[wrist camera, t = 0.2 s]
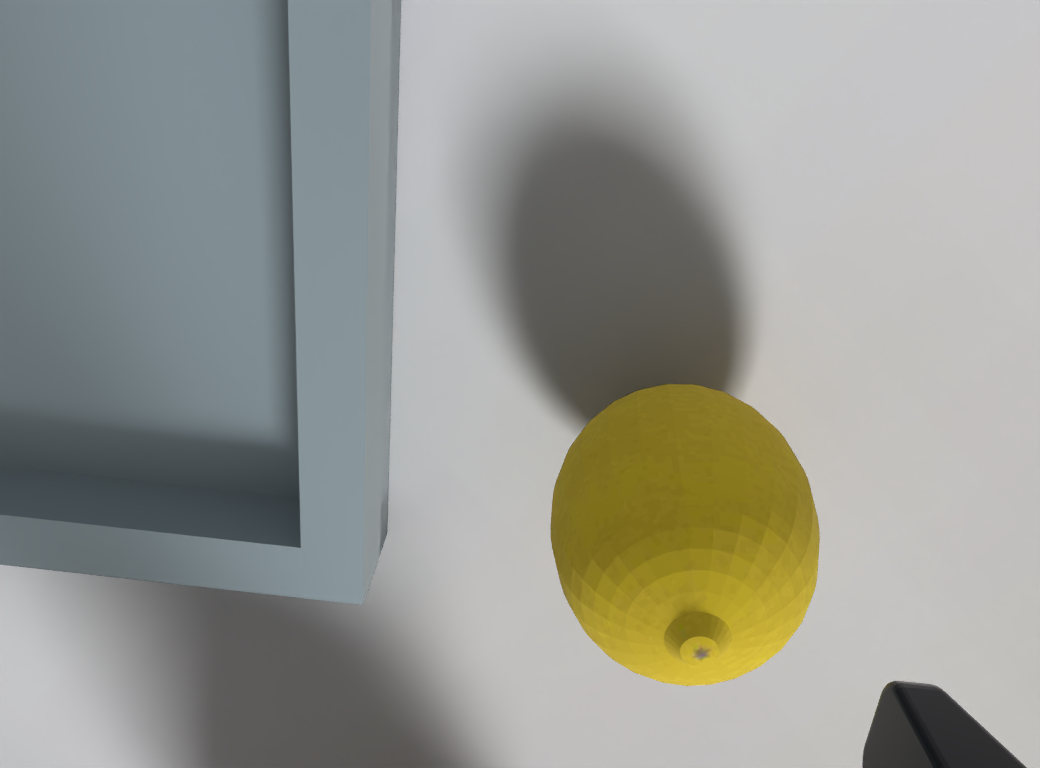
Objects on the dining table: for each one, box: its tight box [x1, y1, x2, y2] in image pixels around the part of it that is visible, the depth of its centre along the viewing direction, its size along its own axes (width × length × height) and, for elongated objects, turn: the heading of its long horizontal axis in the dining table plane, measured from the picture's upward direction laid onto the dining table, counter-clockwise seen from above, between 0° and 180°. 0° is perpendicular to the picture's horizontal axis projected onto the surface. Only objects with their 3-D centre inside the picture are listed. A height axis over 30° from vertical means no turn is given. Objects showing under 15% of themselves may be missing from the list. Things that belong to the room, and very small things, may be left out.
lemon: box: [551, 384, 820, 686], centre depth 20 cm, size 6×6×8 cm
